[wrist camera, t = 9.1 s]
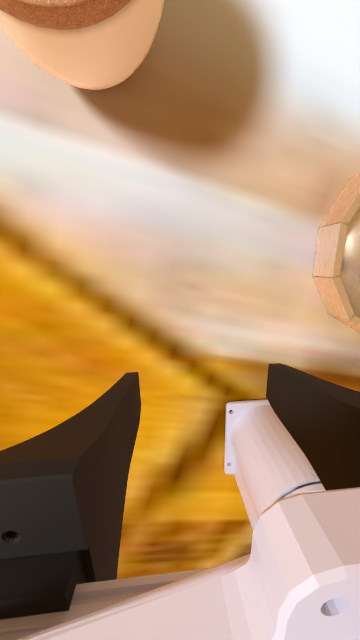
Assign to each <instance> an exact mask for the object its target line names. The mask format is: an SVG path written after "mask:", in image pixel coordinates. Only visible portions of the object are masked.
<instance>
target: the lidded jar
mask: <svg viewBox="0 0 360 640" xmlns="http://www.w3.org/2000/svg"><path fill="white" fill-rule="evenodd" d="M163 5H164V0H0V28H1V29H2V30H3V31H4V33H5V34H6V35H7V36H8V37H9V38H10V40H11V41H12V42H13V43H14V44H15V45H16V46H17V47H18V48H19V49H20V50H21V51H22V52H24V53H25V54H26V55H27V56H28V57H29V58H30V59H31V60H32V61H33V62H34V63H35V64H36V65H38V66H39V67H41V68H42V69H43V70H45V71H46V72H48V73H49V74H50V75H52V76H53V77H55V78H57V79H59V80H61V81H63V82H65V83H66V84H69V85H72V86H75V87H78V88H83V89H90V90H99V89H106V88H110V87H113V86H115V85H117V84H119V83H121V82H123V81H124V80H126V79H127V78H128V77H129V76H131V75H132V73H133V72H134V71H135V70H136V69H137V68H138V67H139V66H140V65H141V63H142V62H143V60H144V58H145V57H146V55H147V54H148V51H149V49H150V47H151V45H152V42H153V40H154V38H155V35H156V33H157V29H158V26H159V22H160V19H161V14H162V10H163Z"/></svg>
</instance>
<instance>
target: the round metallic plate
mask: <svg viewBox="0 0 360 640" xmlns="http://www.w3.org/2000/svg"><path fill="white" fill-rule="evenodd" d="M312 276H313V279H314V282H315V284H316V286H317V289H318V291H319V293H320V296H321V298H322V300H323V303H324V305H325V307H326V310H327V312H328V313H329V314H330V315H331V316H333V317H335V318H336V319H338V320H340V321H341V322H343V323H345V324H346V325H348V326H350V327H351V328H353V329H355V330H356V331H358V332H360V173H359V174H357V175H356V176H354V177H353V178H351V179H349V180H348V182H347V183H346V185H345V186H344V188H343V189H342V191H341V193H340V194H339V196H338V197H337V199H336V200H335V202H334V204H333V205H332V207H331V208H330V210H329V212H328V213H327V215H326V216H325V218H324V219H323V221H322V223H321V224H320V226H319V228H318V235H317V243H316V251H315V259H314V267H313V274H312Z"/></svg>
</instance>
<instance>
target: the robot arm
mask: <svg viewBox="0 0 360 640" xmlns="http://www.w3.org/2000/svg"><path fill="white" fill-rule="evenodd" d="M266 397H267V399H263V400H249V401H235V402H229V403H227V405H226V425H225V459H224V470H225V473H226V474H234V475H235V478H236V481H237V484H238V487H239V490H240V493H241V496H242V499H243V502H244V505H245V508H246V511H247V514H248V517H249V520H250V523H251V526H252V529H253V531H254V532H253V536H252V549H251V554H249V555H246V556H243V557H240V558H238V559H235V560H232V561H230V562H227V563H224V564H221V565H219V566H216V567H213V568H209V569H200V570H192V571H184V572H175V573H167V574H158V575H150V576H142V577H133V578H125V579H116V578H117V568H118V558H119V549H120V539H121V530H122V521H123V513H124V504H125V496H126V488H127V480H128V473H129V468H130V463H131V458H132V454H133V449H134V445H135V440H136V436H137V431H138V427H139V422H140V412H141V399H140V387H139V376H138V372H132V373H126V374H125V375H124V376H123V377H122V378H121V379H120V380H119V381H117V382H116V383H115V384H114V385H113V386H112V387H111V388H110V389H109V390H108V391H107V392H106V393H104V394H103V395H102V396H101V397H100V398H98V399H97V400H96V401H95V402H93V403H92V404H91V405H89V406H88V407H87V408H85V409H84V410H82V411H81V412H79V413H78V414H76V415H75V416H73V417H71V418H70V419H68V420H66V421H64V422H63V423H61V424H59V425H57V426H56V427H54V428H52V429H50V430H48V431H46V432H44V433H42V434H40V435H38V436H35V437H33V438H31V439H29V440H27V441H24V442H22V443H20V444H17V445H15V446H12V447H9V448H7V449H4V450H2V451H0V640H360V392H358V391H354V390H351V389H348V388H345V387H342V386H339V385H336V384H333V383H330V382H328V381H325V380H322V379H320V378H317V377H315V376H312V375H310V374H307V373H305V372H302V371H300V370H297V369H295V368H292V367H289V366H286V365H283V364H280V363H279V364H269V368H268V379H267V391H266ZM230 410H232V411H231V412H229V411H230Z"/></svg>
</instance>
